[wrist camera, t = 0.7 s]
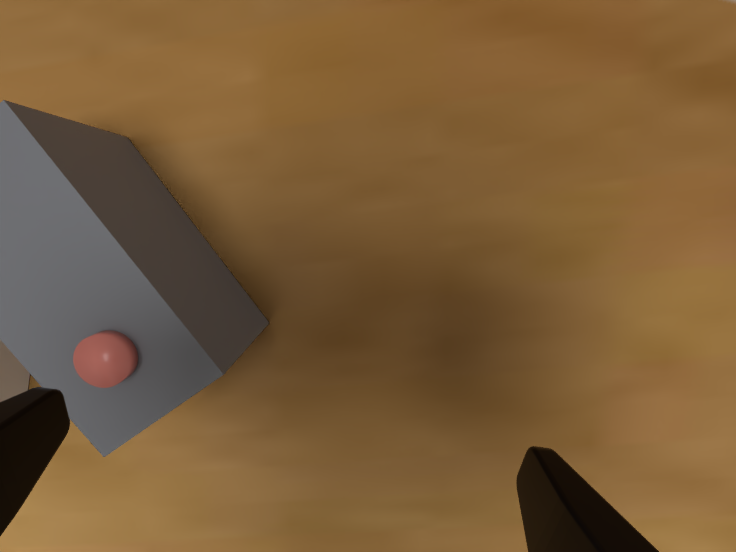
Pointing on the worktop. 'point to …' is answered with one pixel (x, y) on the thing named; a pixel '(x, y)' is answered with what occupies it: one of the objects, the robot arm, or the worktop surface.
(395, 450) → the worktop surface
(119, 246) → the box
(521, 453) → the worktop surface
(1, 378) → the side door
